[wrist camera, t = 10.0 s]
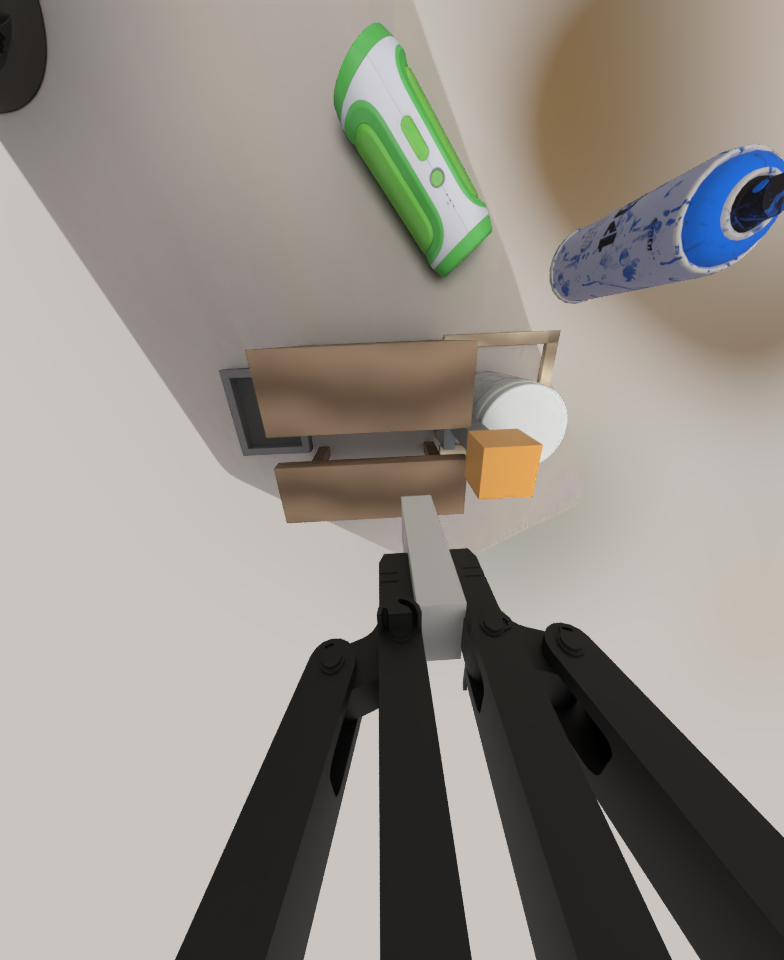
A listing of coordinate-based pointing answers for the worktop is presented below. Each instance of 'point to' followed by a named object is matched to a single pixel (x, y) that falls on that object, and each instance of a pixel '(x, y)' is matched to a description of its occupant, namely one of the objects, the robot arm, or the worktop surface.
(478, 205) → the speaker
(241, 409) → the tray
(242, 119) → the worktop surface
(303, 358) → the walnut tunnel
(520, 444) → the slider
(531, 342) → the frame
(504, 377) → the supplement tub
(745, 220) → the aerosol can
